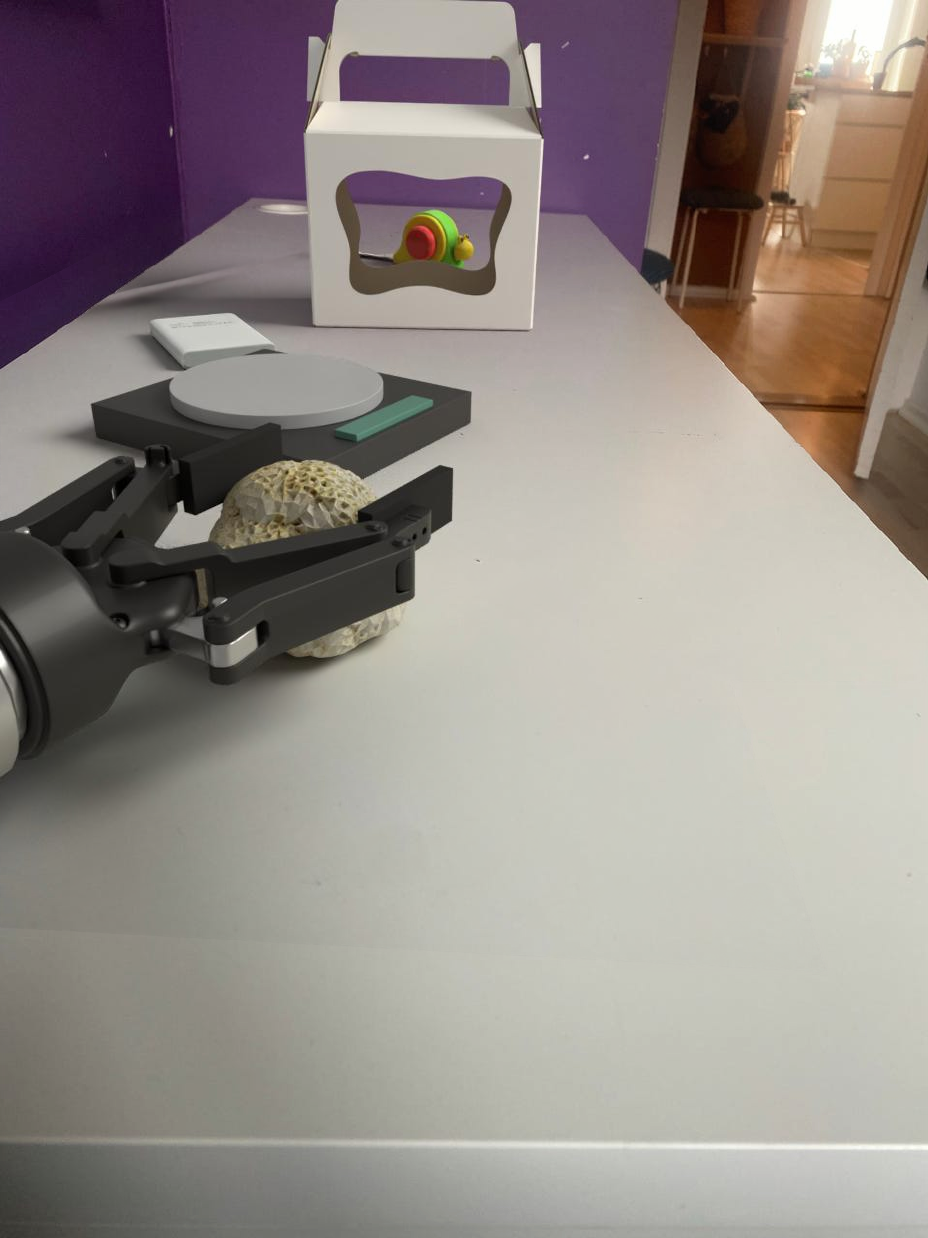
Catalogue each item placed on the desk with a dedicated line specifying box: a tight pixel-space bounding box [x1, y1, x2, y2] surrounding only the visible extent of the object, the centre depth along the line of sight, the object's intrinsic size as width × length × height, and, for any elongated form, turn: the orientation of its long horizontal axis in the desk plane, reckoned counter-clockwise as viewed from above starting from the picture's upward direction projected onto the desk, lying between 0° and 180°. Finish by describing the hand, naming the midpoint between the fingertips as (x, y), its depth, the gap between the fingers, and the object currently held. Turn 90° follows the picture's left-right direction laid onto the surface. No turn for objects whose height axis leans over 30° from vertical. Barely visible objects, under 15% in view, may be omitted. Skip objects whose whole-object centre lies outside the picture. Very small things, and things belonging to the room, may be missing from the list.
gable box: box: [303, 0, 545, 331], centre depth 98 cm, size 22×13×28 cm, turn 92°
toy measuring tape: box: [359, 209, 475, 269], centre depth 127 cm, size 6×20×7 cm, turn 58°
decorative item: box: [196, 460, 408, 659], centre depth 48 cm, size 12×9×10 cm
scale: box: [90, 349, 473, 480], centre depth 72 cm, size 20×18×3 cm
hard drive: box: [149, 312, 276, 370], centre depth 91 cm, size 2×8×12 cm
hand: (357, 469), depth 50 cm, fingers open, 10 cm apart
